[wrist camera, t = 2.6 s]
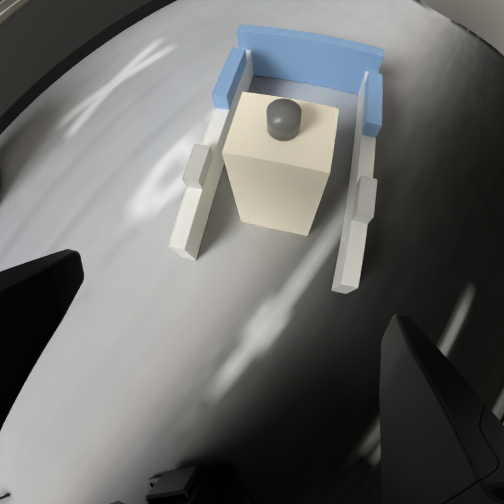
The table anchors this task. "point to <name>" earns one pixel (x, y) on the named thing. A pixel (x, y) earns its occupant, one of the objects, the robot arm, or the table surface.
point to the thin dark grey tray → (56, 43)
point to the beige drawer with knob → (279, 160)
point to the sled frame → (300, 70)
